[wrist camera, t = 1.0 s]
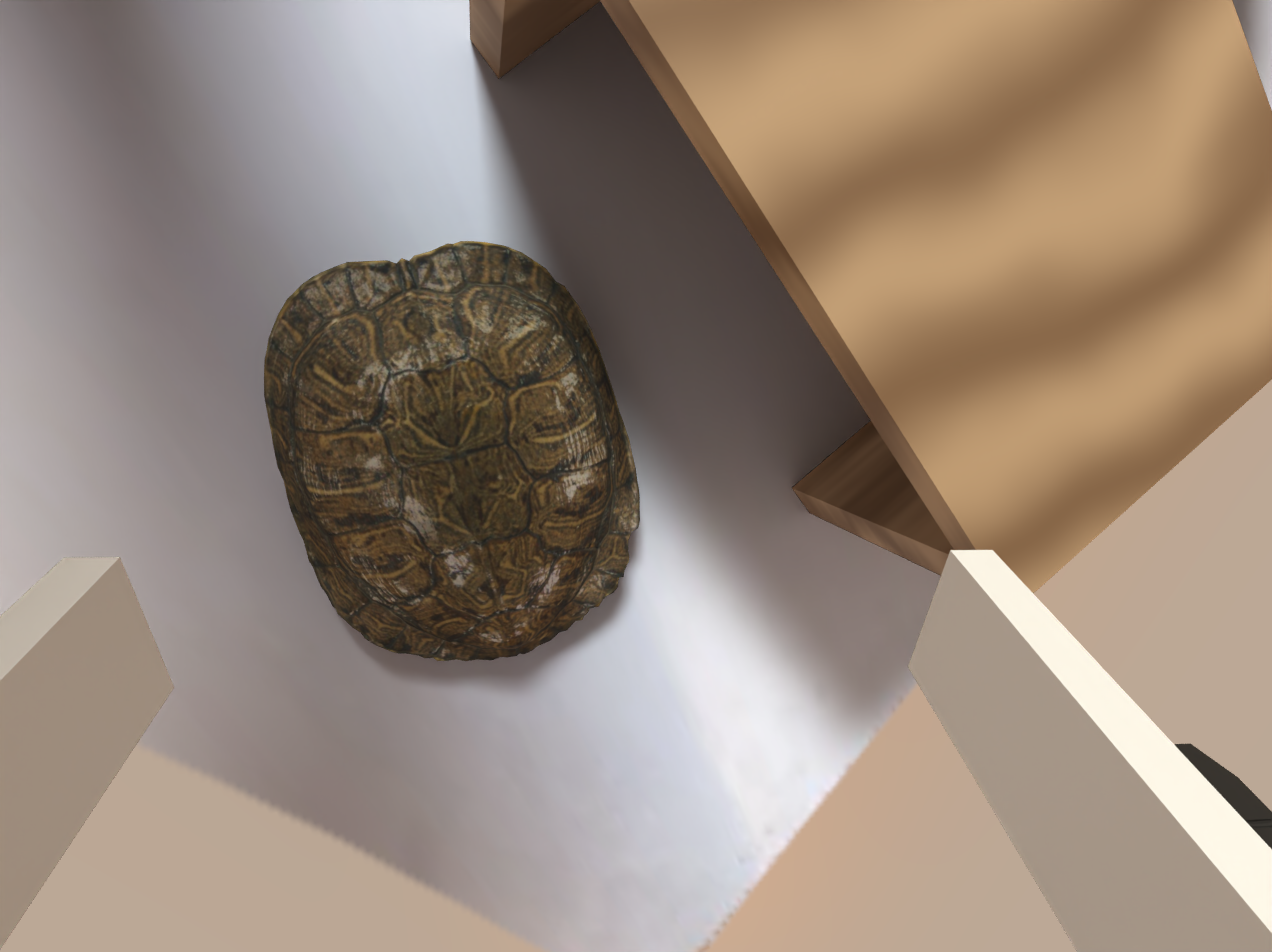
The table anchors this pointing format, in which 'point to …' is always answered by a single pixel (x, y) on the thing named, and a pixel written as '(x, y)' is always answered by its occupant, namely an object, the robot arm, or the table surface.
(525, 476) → the turtle shell
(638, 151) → the table surface
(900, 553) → the walnut shelf
